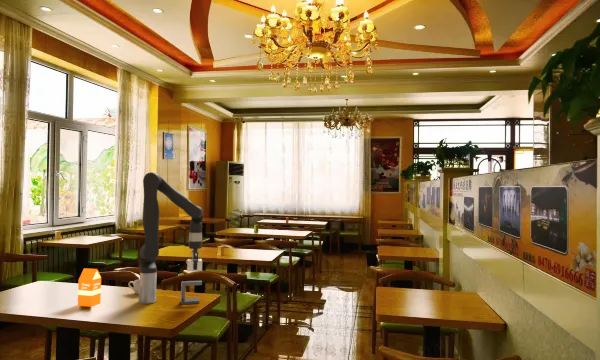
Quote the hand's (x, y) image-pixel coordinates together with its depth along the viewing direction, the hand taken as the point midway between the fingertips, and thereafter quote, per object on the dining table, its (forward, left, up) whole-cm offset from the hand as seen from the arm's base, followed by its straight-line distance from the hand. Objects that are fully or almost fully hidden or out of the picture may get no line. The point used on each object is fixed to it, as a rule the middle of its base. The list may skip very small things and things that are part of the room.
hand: (194, 268), depth 249 cm
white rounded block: (0, 0, -1) cm, 1 cm away
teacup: (-31, +29, -20) cm, 46 cm away
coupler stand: (-2, 0, -19) cm, 20 cm away
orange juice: (-57, +9, -20) cm, 61 cm away
